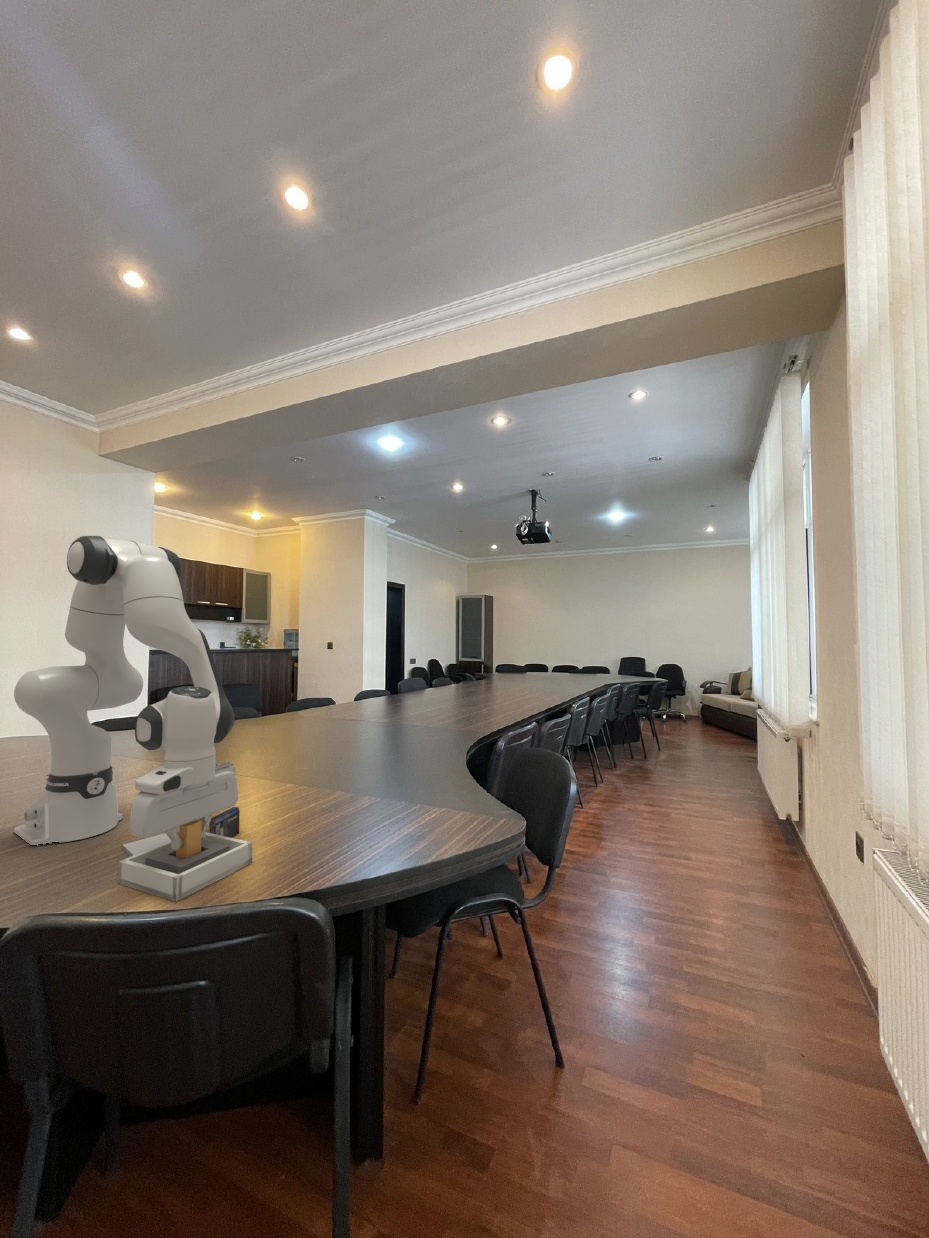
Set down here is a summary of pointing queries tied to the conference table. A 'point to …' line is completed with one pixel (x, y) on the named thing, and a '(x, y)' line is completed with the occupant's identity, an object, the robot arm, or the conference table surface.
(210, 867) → the walled box
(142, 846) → the external hard drive
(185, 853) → the tan rectangular block
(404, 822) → the conference table surface
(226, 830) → the mini dv tape
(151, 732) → the robot arm
